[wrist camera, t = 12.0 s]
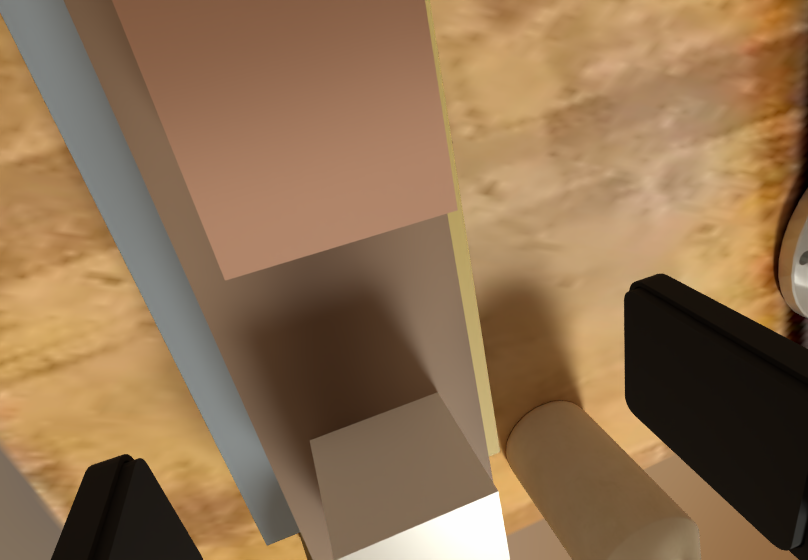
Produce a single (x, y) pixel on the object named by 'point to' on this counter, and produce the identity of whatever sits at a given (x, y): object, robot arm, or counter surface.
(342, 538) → the white cube
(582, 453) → the candle
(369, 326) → the brown wooden bar
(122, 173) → the block
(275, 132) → the salmon pink cube
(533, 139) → the counter surface
